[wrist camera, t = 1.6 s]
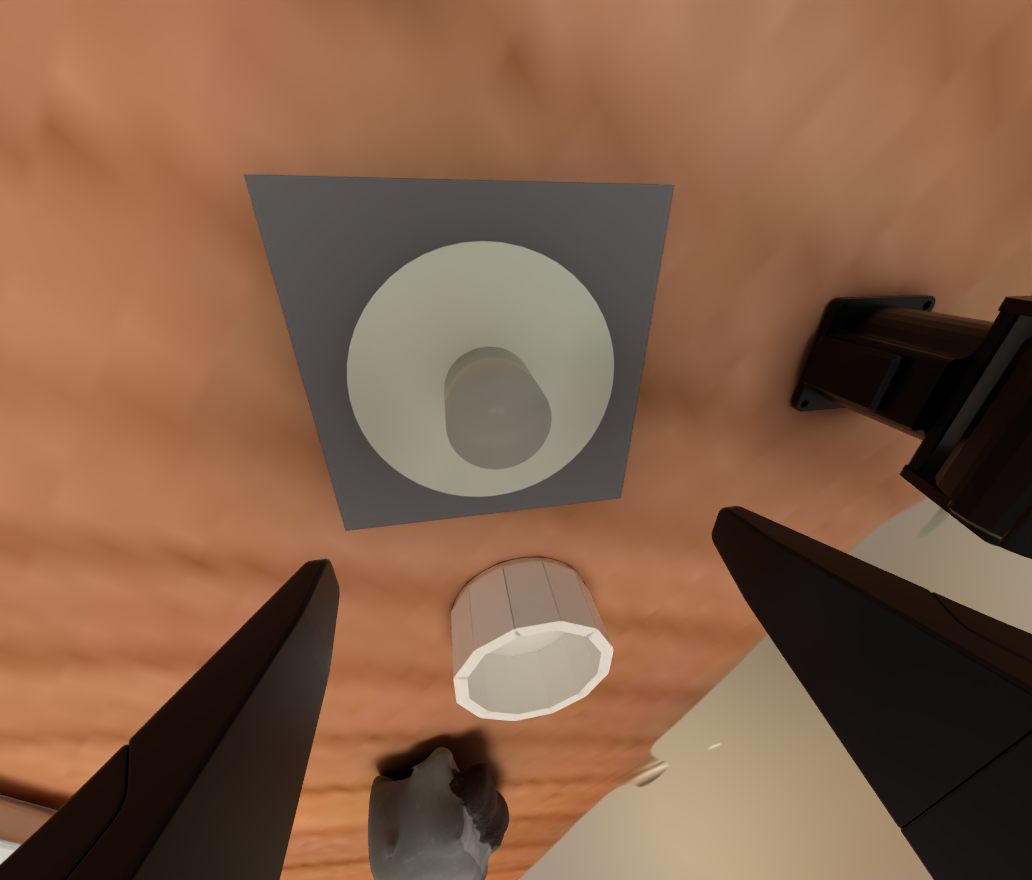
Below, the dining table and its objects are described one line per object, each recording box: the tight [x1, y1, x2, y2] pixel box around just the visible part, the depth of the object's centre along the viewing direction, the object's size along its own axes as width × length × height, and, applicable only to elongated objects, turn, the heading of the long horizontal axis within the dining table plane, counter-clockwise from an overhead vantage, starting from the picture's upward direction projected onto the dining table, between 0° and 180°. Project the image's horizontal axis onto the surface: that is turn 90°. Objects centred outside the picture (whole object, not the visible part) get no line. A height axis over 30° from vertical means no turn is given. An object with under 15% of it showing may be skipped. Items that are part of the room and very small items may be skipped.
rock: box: [368, 747, 509, 880], centre depth 36 cm, size 18×11×8 cm, turn 7°
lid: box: [347, 241, 614, 497], centre depth 16 cm, size 12×12×4 cm
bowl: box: [451, 557, 614, 721], centre depth 26 cm, size 10×10×5 cm
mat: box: [244, 175, 674, 531], centre depth 18 cm, size 16×16×1 cm
